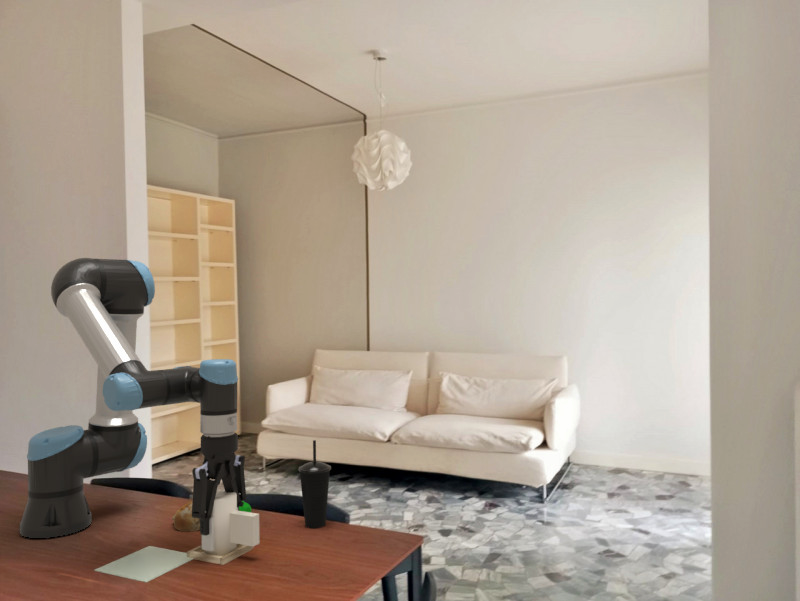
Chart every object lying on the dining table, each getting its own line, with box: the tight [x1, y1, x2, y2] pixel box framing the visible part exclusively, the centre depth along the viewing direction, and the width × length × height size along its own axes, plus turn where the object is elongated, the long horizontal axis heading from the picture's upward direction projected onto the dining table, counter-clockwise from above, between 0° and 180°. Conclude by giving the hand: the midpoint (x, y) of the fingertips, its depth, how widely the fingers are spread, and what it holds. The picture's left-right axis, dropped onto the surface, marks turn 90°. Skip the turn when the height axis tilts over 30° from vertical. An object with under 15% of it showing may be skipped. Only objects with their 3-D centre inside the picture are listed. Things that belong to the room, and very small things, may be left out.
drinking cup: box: [298, 440, 332, 529], centre depth 153 cm, size 8×8×20 cm
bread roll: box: [172, 500, 200, 532], centre depth 153 cm, size 10×10×8 cm
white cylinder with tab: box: [204, 490, 260, 557], centre depth 133 cm, size 13×7×12 cm, turn 65°
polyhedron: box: [239, 501, 253, 513], centre depth 156 cm, size 5×5×5 cm
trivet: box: [93, 545, 195, 583], centre depth 130 cm, size 14×14×1 cm
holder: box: [186, 544, 254, 566], centre depth 135 cm, size 9×9×2 cm
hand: (220, 543), depth 135 cm, fingers closed on white cylinder with tab, 7 cm apart
